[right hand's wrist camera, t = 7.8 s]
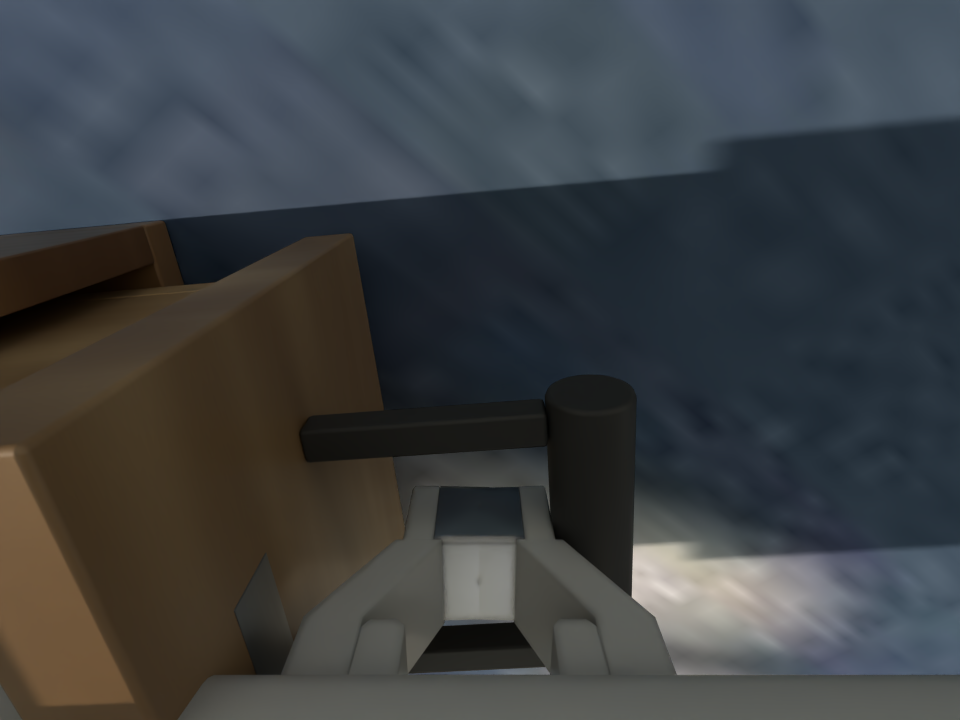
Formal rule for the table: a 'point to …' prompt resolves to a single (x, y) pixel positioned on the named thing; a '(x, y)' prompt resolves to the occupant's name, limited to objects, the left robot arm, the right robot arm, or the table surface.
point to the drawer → (240, 482)
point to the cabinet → (84, 262)
